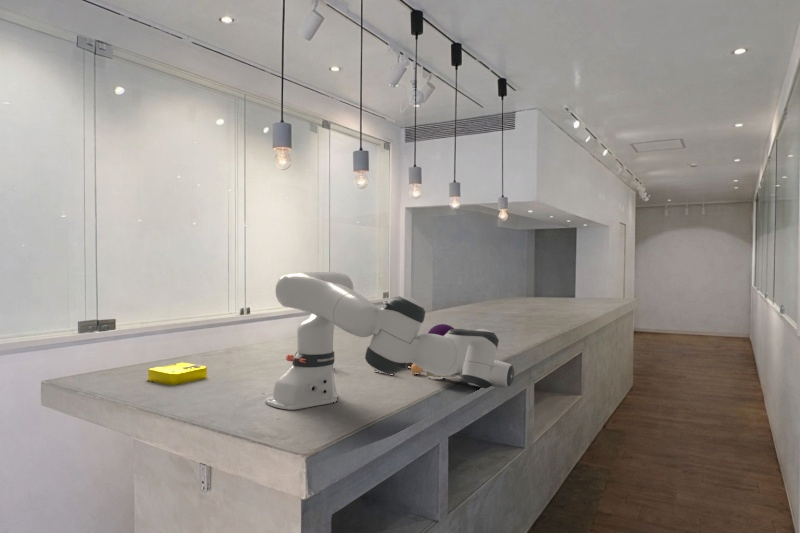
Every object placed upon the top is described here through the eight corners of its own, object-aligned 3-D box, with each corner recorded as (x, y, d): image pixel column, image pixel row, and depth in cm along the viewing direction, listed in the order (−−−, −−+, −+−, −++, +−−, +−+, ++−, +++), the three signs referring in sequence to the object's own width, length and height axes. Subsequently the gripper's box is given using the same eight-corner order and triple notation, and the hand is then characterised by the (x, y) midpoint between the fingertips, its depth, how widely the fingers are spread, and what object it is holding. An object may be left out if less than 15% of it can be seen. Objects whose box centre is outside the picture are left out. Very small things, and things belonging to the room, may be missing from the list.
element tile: (182, 373, 201) (182, 360, 201) (209, 378, 193) (209, 365, 193) (145, 381, 188) (145, 367, 188) (172, 387, 180) (172, 372, 180)
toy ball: (421, 360, 229) (422, 325, 229) (429, 354, 243) (430, 321, 243) (456, 362, 225) (456, 327, 224) (462, 356, 239) (463, 323, 239)
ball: (417, 376, 198) (417, 364, 198) (408, 374, 201) (408, 362, 201) (425, 374, 201) (425, 362, 201) (415, 372, 204) (415, 361, 204)
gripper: (453, 383, 178) (420, 377, 187) (485, 373, 194) (454, 368, 203) (453, 364, 178) (420, 359, 187) (486, 356, 194) (454, 351, 203)
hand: (438, 363), depth 195 cm, fingers open, 8 cm apart
